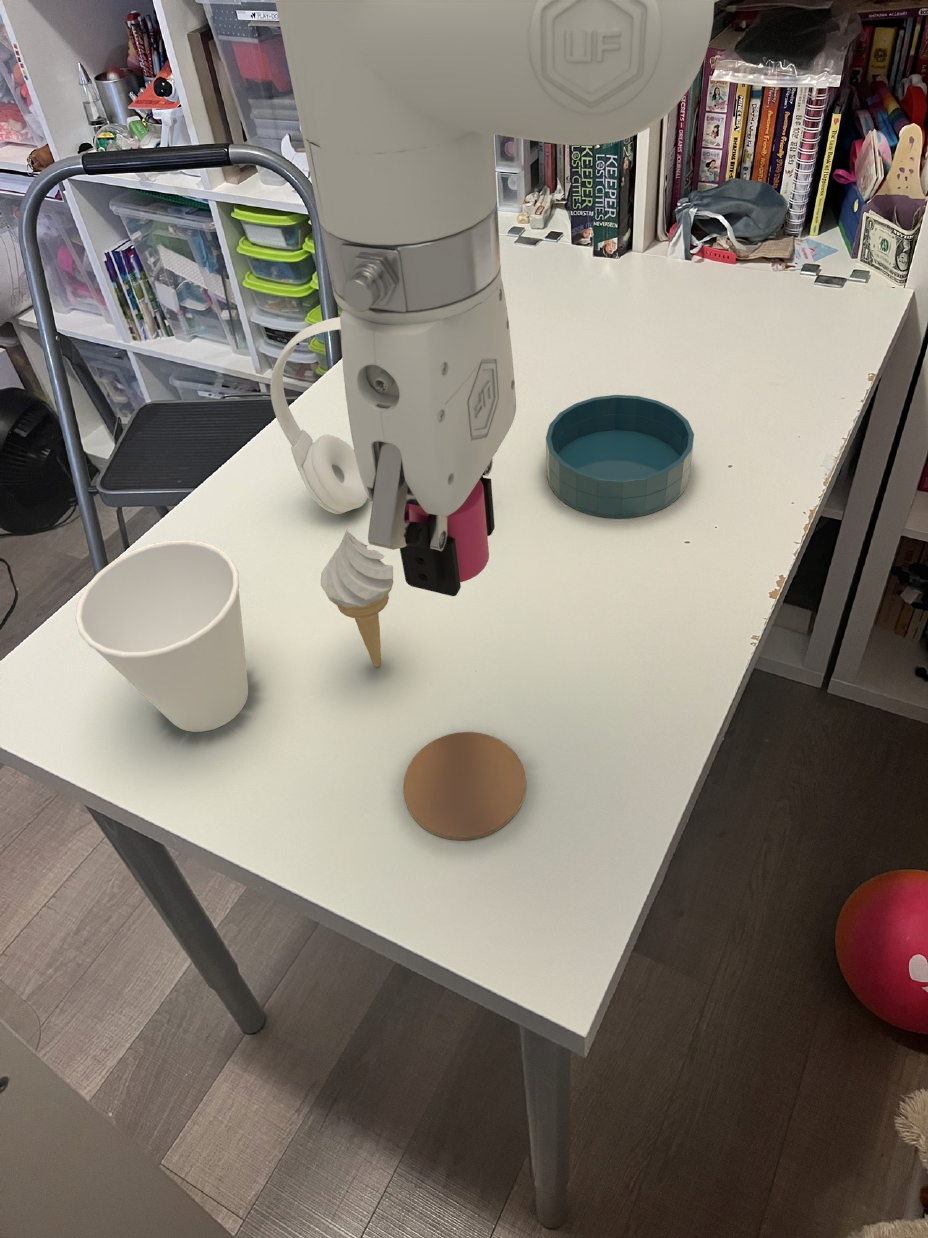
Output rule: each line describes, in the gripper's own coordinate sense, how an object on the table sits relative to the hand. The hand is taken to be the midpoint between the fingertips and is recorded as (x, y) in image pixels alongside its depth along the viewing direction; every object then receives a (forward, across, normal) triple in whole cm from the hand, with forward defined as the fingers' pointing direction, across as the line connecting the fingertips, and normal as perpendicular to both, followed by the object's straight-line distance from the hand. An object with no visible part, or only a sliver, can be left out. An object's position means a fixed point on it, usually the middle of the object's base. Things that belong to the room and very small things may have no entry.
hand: (451, 555), depth 51 cm
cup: (+21, -2, +23) cm, 32 cm away
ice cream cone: (+21, +6, +11) cm, 25 cm away
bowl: (+21, +36, 0) cm, 42 cm away
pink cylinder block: (0, 0, 0) cm, 0 cm away
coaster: (+21, -2, 0) cm, 21 cm away
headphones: (+21, +25, +19) cm, 38 cm away
